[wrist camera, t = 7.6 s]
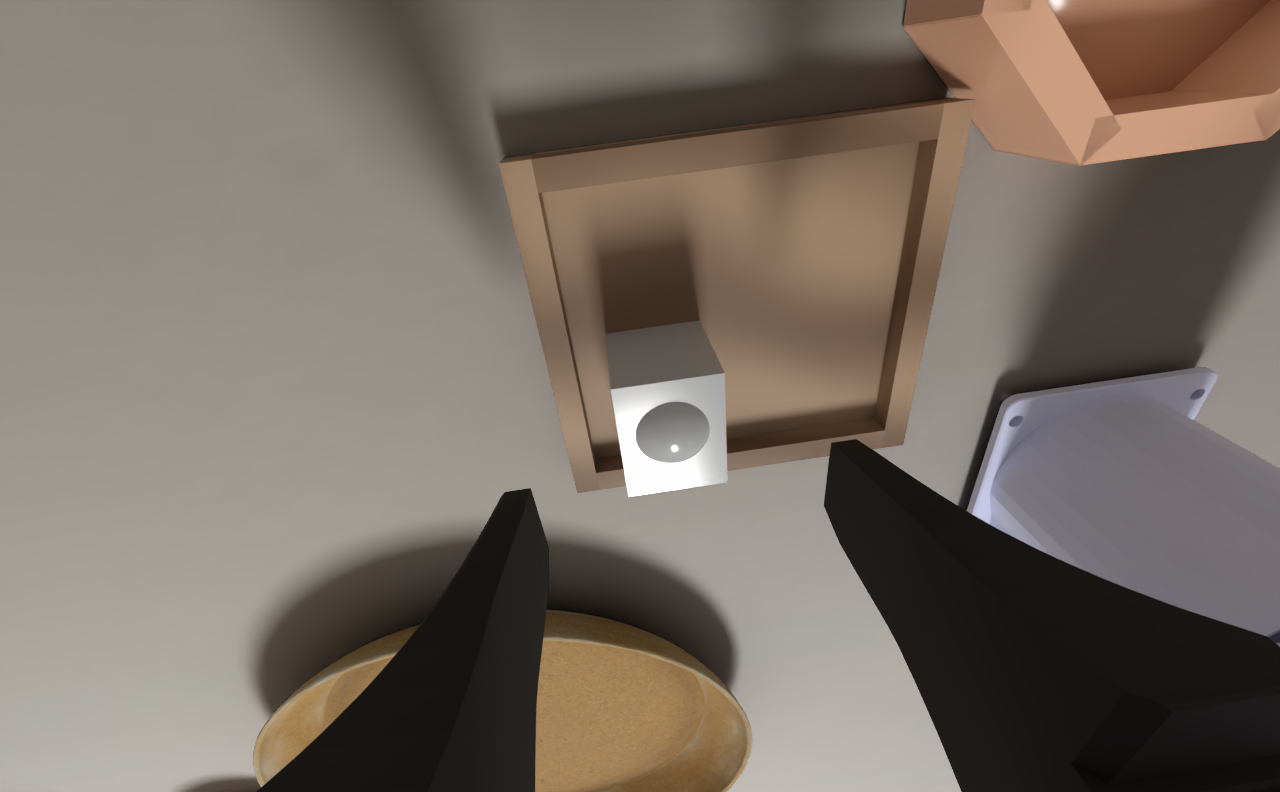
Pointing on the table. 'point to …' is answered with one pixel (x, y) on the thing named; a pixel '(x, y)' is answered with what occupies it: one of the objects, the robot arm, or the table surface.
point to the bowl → (1107, 72)
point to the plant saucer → (570, 711)
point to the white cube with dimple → (668, 407)
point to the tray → (747, 270)
